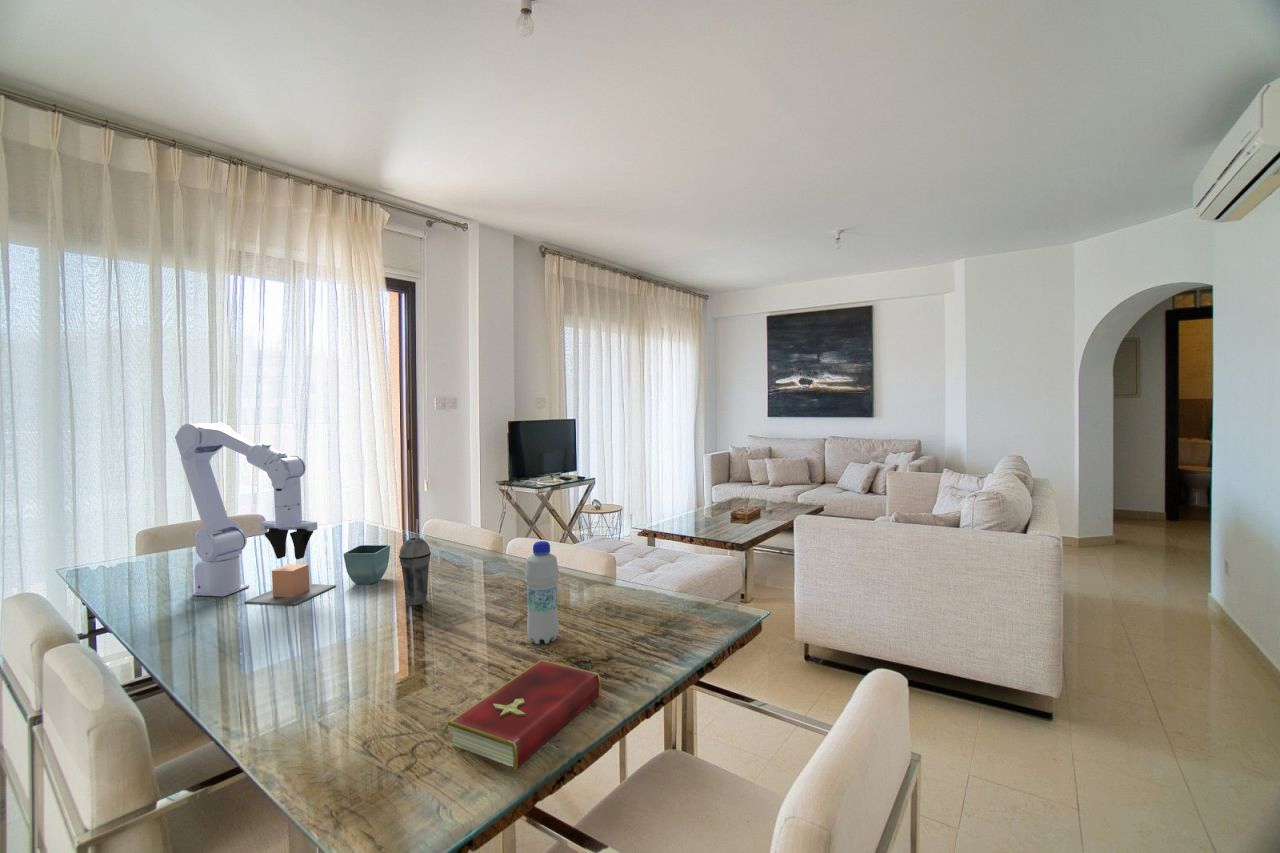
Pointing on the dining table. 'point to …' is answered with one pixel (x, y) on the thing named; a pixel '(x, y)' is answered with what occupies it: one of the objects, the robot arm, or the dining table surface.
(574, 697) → the hardcover book
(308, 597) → the post block
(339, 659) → the dining table surface
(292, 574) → the block
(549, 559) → the bottle
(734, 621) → the dining table surface
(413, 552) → the beverage cup
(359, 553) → the flower pot
